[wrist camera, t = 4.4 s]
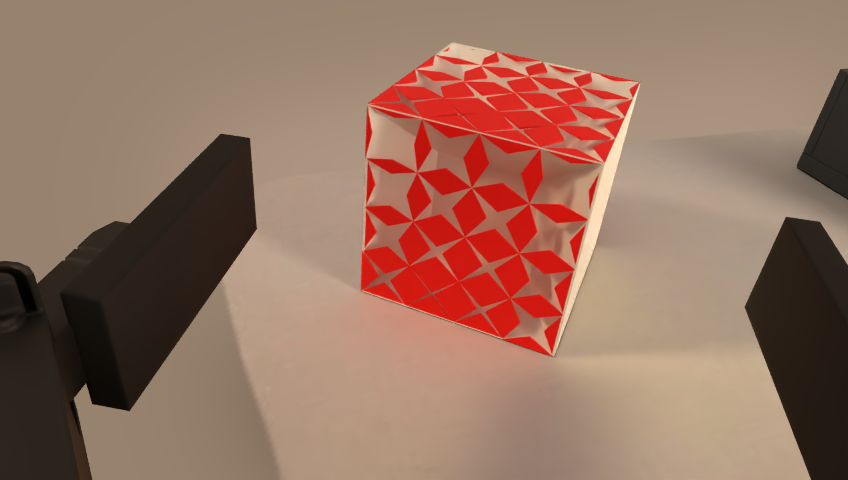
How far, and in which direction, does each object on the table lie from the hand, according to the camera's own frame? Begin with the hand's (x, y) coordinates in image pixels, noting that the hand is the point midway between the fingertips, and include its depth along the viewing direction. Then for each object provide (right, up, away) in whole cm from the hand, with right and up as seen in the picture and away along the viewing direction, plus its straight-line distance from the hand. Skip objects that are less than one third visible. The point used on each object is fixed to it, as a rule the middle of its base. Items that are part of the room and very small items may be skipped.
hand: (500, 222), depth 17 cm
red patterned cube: (+1, -2, +12) cm, 12 cm away
